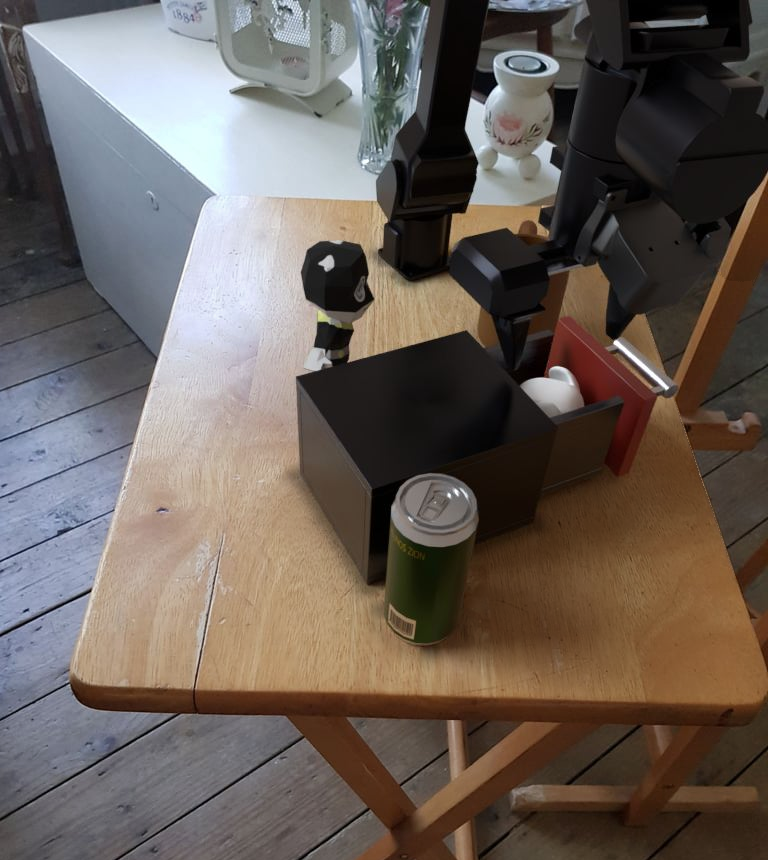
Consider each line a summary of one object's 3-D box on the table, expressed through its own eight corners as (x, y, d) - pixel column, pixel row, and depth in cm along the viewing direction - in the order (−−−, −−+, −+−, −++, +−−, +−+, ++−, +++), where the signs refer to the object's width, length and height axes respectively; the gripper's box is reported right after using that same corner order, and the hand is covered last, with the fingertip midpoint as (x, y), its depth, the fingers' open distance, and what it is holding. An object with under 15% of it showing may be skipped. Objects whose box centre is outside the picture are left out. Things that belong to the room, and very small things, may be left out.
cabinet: (453, 425, 72) (466, 329, 64) (532, 522, 64) (558, 427, 57) (299, 474, 67) (295, 376, 59) (367, 585, 60) (371, 489, 52)
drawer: (593, 379, 76) (616, 302, 70) (674, 457, 69) (707, 379, 63) (420, 434, 70) (428, 354, 63) (490, 525, 63) (507, 446, 57)
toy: (353, 453, 69) (357, 300, 58) (284, 441, 69) (274, 287, 58) (385, 359, 78) (393, 210, 67) (323, 349, 78) (321, 200, 67)
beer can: (438, 662, 55) (458, 549, 47) (369, 628, 57) (375, 513, 48) (470, 606, 59) (495, 490, 50) (404, 576, 60) (416, 459, 51)
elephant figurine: (572, 480, 65) (589, 424, 61) (478, 449, 67) (488, 392, 63) (593, 429, 69) (611, 373, 65) (504, 401, 71) (515, 345, 67)
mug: (479, 289, 87) (491, 205, 80) (550, 297, 86) (569, 213, 79) (474, 357, 79) (488, 270, 72) (553, 366, 78) (574, 279, 71)
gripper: (567, 234, 42) (517, 454, 54) (823, 173, 48) (730, 381, 60) (458, 146, 49) (435, 359, 60) (696, 102, 55) (634, 302, 66)
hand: (562, 351), depth 61 cm, fingers open, 9 cm apart
